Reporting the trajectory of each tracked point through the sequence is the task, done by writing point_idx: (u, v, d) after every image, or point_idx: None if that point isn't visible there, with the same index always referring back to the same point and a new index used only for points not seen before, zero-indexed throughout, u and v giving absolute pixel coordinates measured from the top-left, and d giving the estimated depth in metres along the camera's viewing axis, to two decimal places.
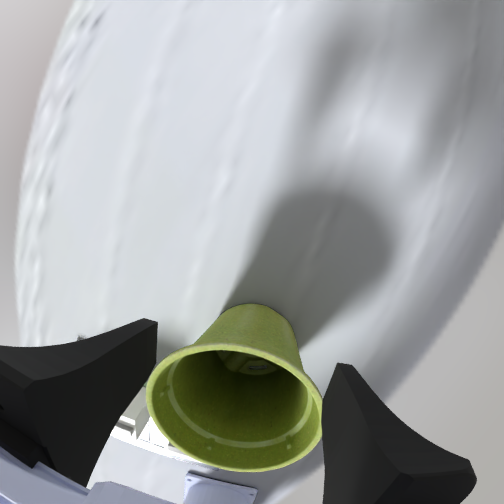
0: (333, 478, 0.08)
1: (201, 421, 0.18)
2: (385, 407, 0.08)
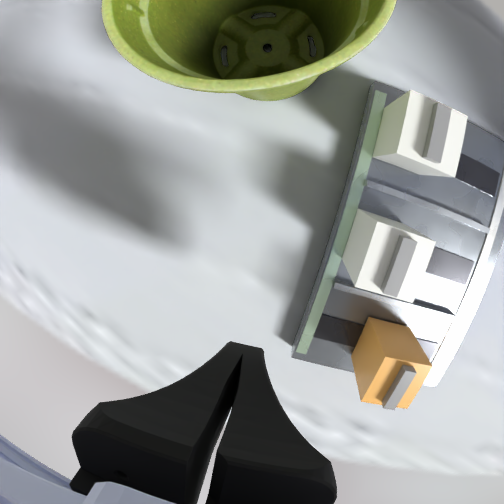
0: None
1: None
2: (269, 391, 0.08)
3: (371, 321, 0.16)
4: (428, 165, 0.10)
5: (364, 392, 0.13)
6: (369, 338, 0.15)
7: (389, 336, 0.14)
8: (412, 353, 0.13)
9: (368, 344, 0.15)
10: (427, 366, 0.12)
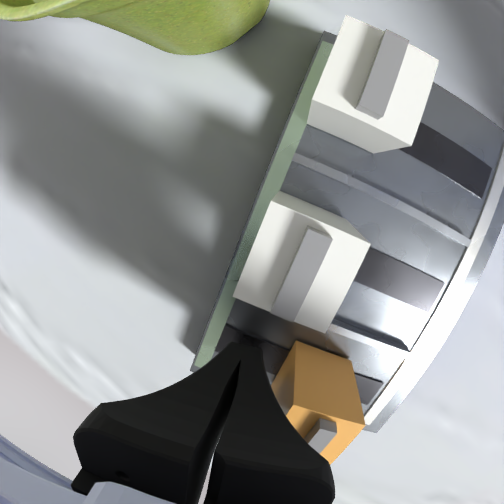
0: None
1: None
2: (268, 390, 0.08)
3: (296, 347, 0.12)
4: (366, 122, 0.07)
5: None
6: (288, 370, 0.11)
7: (314, 372, 0.11)
8: (340, 402, 0.10)
9: (286, 377, 0.11)
10: (356, 424, 0.09)
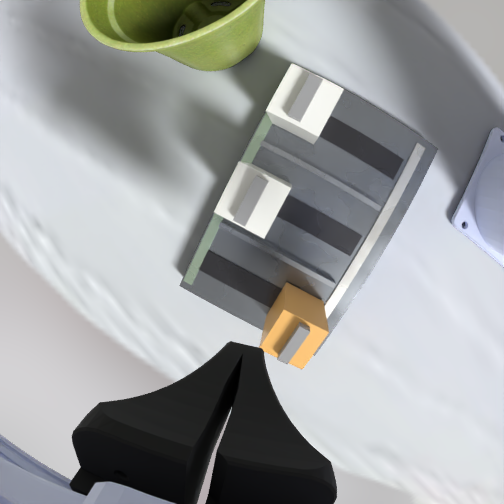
0: None
1: None
2: (270, 391, 0.08)
3: (287, 285, 0.19)
4: (293, 123, 0.13)
5: (263, 341, 0.16)
6: (280, 298, 0.18)
7: (297, 299, 0.17)
8: (313, 317, 0.16)
9: (278, 303, 0.18)
10: (322, 331, 0.15)
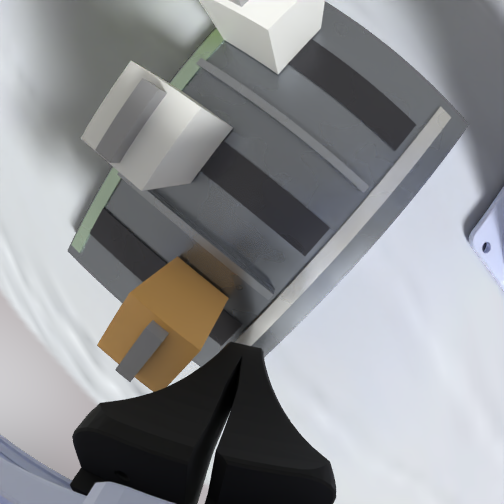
0: None
1: None
2: (269, 391, 0.08)
3: (173, 260, 0.12)
4: (230, 8, 0.06)
5: (103, 335, 0.09)
6: None
7: (176, 284, 0.11)
8: (185, 318, 0.10)
9: None
10: (190, 345, 0.09)
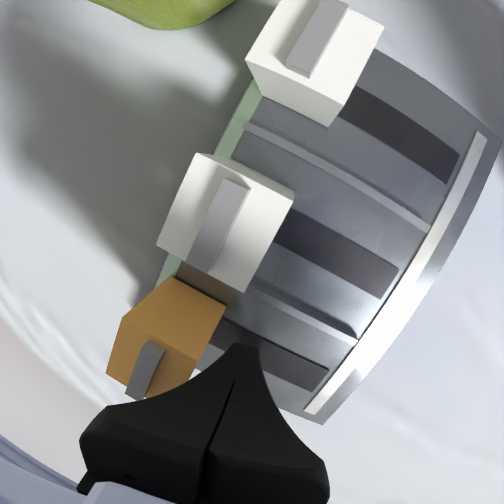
0: None
1: None
2: (264, 390, 0.08)
3: (166, 280, 0.12)
4: (296, 81, 0.07)
5: (109, 362, 0.10)
6: None
7: (169, 302, 0.11)
8: (181, 333, 0.10)
9: None
10: (188, 357, 0.09)
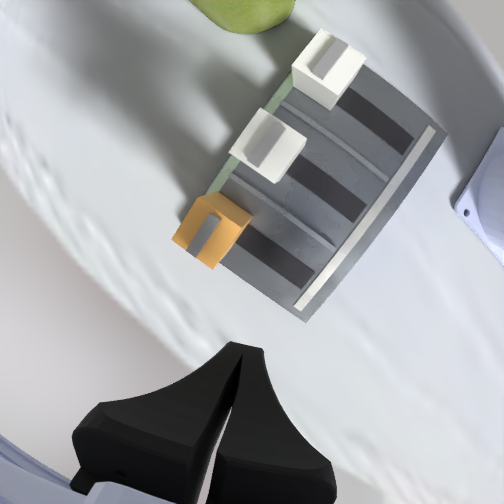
0: None
1: None
2: (270, 391, 0.08)
3: (216, 192, 0.19)
4: (316, 80, 0.13)
5: (176, 232, 0.16)
6: None
7: (221, 201, 0.17)
8: (230, 214, 0.16)
9: None
10: (235, 225, 0.15)
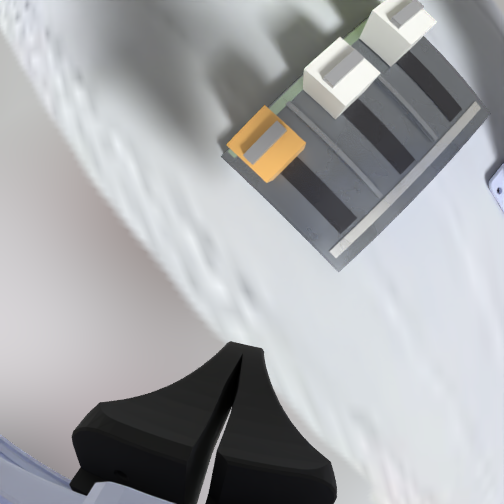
0: None
1: None
2: (269, 391, 0.08)
3: None
4: (392, 27, 0.12)
5: (232, 139, 0.14)
6: None
7: None
8: None
9: None
10: (299, 139, 0.14)
